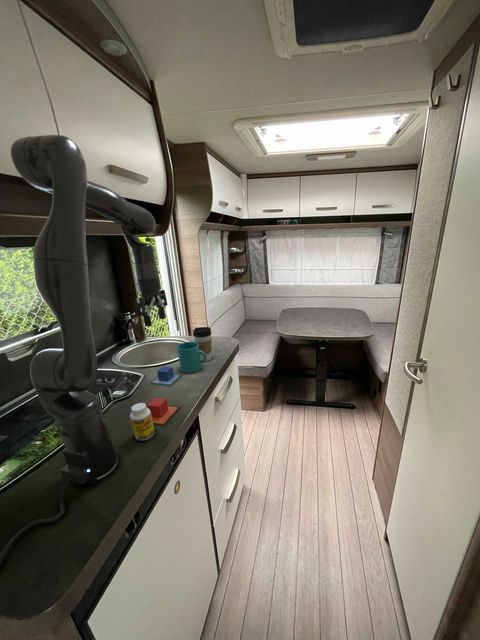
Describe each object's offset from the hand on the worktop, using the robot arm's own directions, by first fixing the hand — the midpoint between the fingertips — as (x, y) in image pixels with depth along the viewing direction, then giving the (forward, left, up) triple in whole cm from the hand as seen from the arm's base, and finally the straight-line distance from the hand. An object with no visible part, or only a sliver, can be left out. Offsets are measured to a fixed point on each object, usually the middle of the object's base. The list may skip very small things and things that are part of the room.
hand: (155, 322), depth 100 cm
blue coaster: (+4, +3, -26) cm, 27 cm away
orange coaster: (-18, -8, -26) cm, 33 cm away
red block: (-18, -8, -26) cm, 32 cm away
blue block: (+4, +3, -26) cm, 26 cm away
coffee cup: (+26, -4, -26) cm, 37 cm away
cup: (+15, -4, -26) cm, 31 cm away
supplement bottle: (-28, -10, -26) cm, 40 cm away
